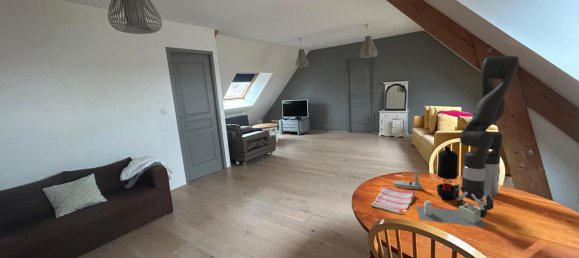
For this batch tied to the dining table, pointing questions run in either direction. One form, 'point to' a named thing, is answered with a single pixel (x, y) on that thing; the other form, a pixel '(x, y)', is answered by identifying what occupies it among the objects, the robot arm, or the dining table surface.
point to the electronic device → (409, 183)
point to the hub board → (444, 215)
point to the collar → (469, 213)
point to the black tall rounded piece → (447, 172)
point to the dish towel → (393, 200)
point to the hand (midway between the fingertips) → (471, 212)
